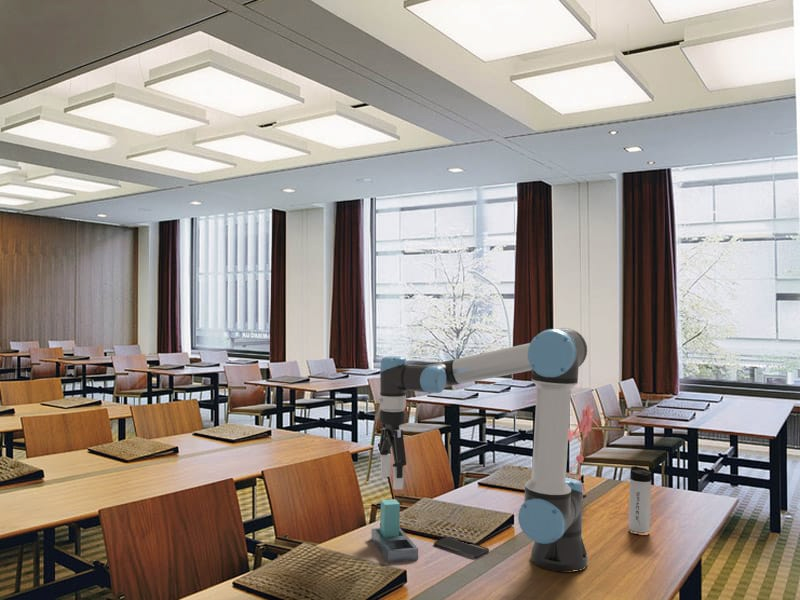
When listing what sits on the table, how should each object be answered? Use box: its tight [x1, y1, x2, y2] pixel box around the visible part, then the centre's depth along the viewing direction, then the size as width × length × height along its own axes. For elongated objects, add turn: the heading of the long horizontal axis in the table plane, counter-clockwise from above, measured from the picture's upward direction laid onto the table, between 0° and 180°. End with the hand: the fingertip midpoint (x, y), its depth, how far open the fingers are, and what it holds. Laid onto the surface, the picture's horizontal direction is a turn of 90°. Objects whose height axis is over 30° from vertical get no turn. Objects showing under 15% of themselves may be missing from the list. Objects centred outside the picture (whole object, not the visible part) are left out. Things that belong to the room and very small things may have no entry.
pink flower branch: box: [568, 403, 609, 507], centre depth 241 cm, size 15×26×35 cm, turn 145°
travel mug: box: [628, 465, 652, 533], centre depth 209 cm, size 6×7×20 cm
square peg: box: [379, 498, 401, 537], centre depth 194 cm, size 4×4×12 cm
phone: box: [433, 536, 490, 560], centre depth 191 cm, size 8×1×15 cm
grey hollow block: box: [371, 526, 419, 563], centre depth 190 cm, size 18×8×3 cm, turn 17°
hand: (391, 482), depth 194 cm, fingers open, 13 cm apart
